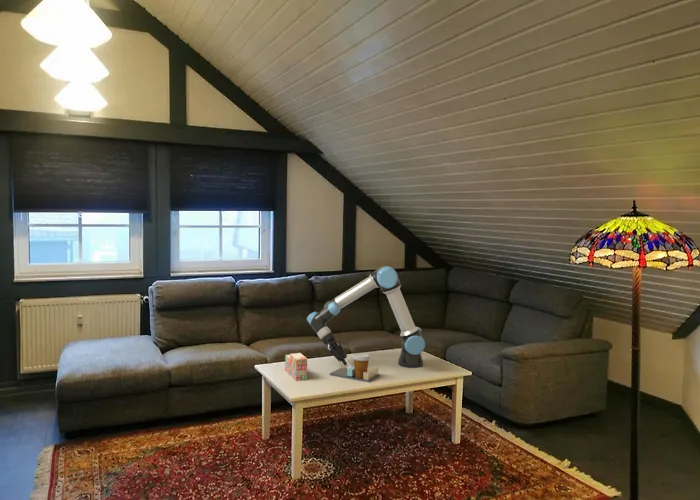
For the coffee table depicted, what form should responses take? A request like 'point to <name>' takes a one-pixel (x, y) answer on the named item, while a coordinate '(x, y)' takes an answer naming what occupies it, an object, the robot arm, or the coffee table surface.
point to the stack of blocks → (296, 366)
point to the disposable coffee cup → (360, 364)
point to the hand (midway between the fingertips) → (350, 368)
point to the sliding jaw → (351, 371)
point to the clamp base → (367, 377)
